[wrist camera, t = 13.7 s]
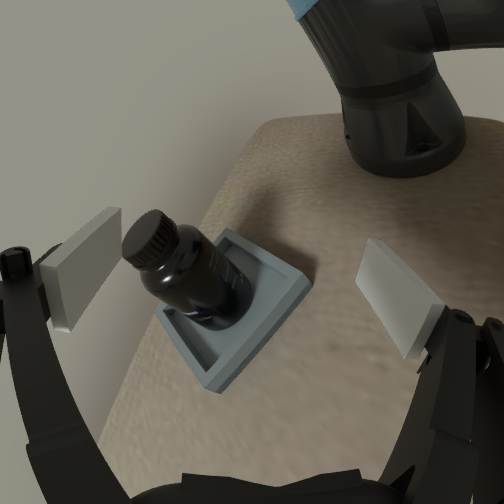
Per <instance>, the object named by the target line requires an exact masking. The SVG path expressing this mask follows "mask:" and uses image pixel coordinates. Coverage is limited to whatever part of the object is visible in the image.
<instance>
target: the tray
mask: <svg viewBox="0 0 504 504" xmlns="http://www.w3.org/2000/svg"><path fill="white" fill-rule="evenodd" d="M213 244H214V245H215V246H216V247H217V248H218V249H219V250H220V251H221V252H222V253H223V254H224V255H225V256H226V257H227V258H228V259H229V260H230V261H231V262H232V263H234V264H235V265H236V266H237V267H238V268H239V269H240V270H241V271H242V272H243V273H244V274H245V275H246V276H247V278H248V279H249V281H250V283H251V287H252V298H251V302H250V305H249V308H248V310H247V311H246V313H245V315H244V316H243V317H242V318H241V319H240V320H239V321H238V322H237V323H236V324H235V325H233V326H232V327H230V328H228V329H225V330H221V331H210V330H207V329H205V328H203V327H202V326H200V325H198V324H197V323H195V322H194V321H192V320H190V319H189V318H187V317H186V316H184V315H183V314H181V313H180V312H178V311H177V310H175V309H173V308H172V307H170V306H169V305H167V304H166V303H164V302H163V303H162V304H161V305H160V306H159V307H158V309H157V310H156V311H155V312H154V313H155V314H156V316H157V318H158V319H159V321H160V322H161V324H162V326H163V327H164V329H165V330H166V332H167V334H168V335H169V337H170V338H171V340H172V342H173V343H174V345H175V346H176V348H177V349H178V351H179V352H180V354H181V355H182V357H183V358H184V360H185V361H186V363H187V364H188V366H189V367H190V369H191V370H192V372H193V373H194V374H195V376H196V377H197V379H198V380H199V382H200V383H201V384H202V386H203V387H204V388H205V389H208V390H211V391H213V392H216V393H219V394H221V393H222V392H223V391H224V390H225V389H226V388H227V386H228V385H229V384H230V383H231V382H232V381H233V380H234V379H235V378H236V377H237V375H238V374H239V373H240V372H241V371H242V370H243V369H244V368H245V367H246V365H247V364H248V363H249V362H250V361H251V360H252V359H253V358H254V356H255V355H256V354H257V353H258V352H259V351H260V349H261V348H262V347H263V346H264V345H265V344H266V343H267V341H268V340H269V339H270V338H271V337H272V336H273V334H274V333H275V332H276V331H277V330H278V328H279V327H280V326H281V325H282V324H283V322H284V321H285V320H286V319H287V318H288V316H289V315H290V314H291V313H292V312H293V310H294V309H295V308H296V307H297V305H298V304H299V303H300V302H301V300H302V299H303V298H304V297H305V296H306V294H307V293H308V292H309V290H310V289H311V288H312V287H313V284H312V283H311V282H310V281H309V279H308V278H307V277H306V276H305V274H304V273H303V272H301V271H299V270H298V269H296V268H294V267H293V266H291V265H289V264H288V263H286V262H284V261H282V260H281V259H279V258H277V257H276V256H274V255H272V254H271V253H269V252H267V251H266V250H264V249H262V248H260V247H259V246H257V245H255V244H254V243H252V242H250V241H249V240H247V239H245V238H243V237H242V236H240V235H238V234H237V233H235V232H233V231H232V230H230V229H228V228H225V230H224V231H223V232H222V233H221V234H220V235H219V237H218V238H217V239H216V240H215V241H214V242H213Z"/></svg>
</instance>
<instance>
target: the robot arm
mask: <svg viewBox="0 0 504 504" xmlns="http://www.w3.org/2000/svg"><path fill="white" fill-rule="evenodd" d="M286 1H287V2H288V4H289V6H290V7H291V9H292V11H293V12H294V14H295V20H296V21H298V22H299V23H300V25H301V26H302V28H303V29H304V31H305V33H306V34H307V36H308V38H309V39H310V41H311V42H312V44H313V46H314V48H315V49H316V51H317V53H318V54H319V56H320V58H321V60H322V61H323V63H324V65H325V67H326V69H327V71H328V73H329V74H330V76H331V78H332V80H333V81H334V84H335V86H336V88H337V90H338V92H339V94H340V97H341V104H342V113H343V121H344V126H345V128H344V134H345V140H346V143H347V146H348V148H349V150H350V152H351V155H352V157H353V159H354V160H355V161H356V163H357V164H358V165H360V166H361V167H362V168H364V169H365V170H367V171H369V172H371V173H374V174H377V175H381V176H387V177H413V176H419V175H424V174H427V173H430V172H433V171H436V170H438V169H440V168H442V167H444V166H446V165H447V164H449V163H450V162H451V161H453V160H454V159H455V158H456V157H457V156H458V155H459V153H460V152H461V151H462V149H463V147H464V144H465V141H466V131H465V125H464V119H463V115H462V112H461V110H460V109H459V107H458V105H457V103H456V101H455V99H454V97H453V96H452V94H451V92H450V90H449V89H448V87H447V85H446V84H445V82H444V80H443V79H442V77H441V76H440V74H439V72H438V69H437V65H436V62H435V59H434V55H433V52H439V51H450V50H461V49H477V48H504V0H286ZM121 258H122V238H121V208H115V207H107V208H106V209H105V210H103V211H102V212H101V213H99V214H98V215H97V216H96V217H94V218H93V219H92V220H91V221H89V222H88V223H87V224H86V225H84V226H83V227H82V228H81V229H80V230H78V231H77V232H76V233H75V234H73V235H72V236H71V237H70V238H69V239H67V240H66V241H65V242H64V243H60V244H58V245H56V246H54V247H52V248H51V249H50V250H48V251H47V252H46V254H44V255H43V256H42V257H41V258H39V259H38V260H37V261H36V262H35V263H34V264H33V265H32V261H31V255H30V250H29V249H28V248H26V247H20V246H19V247H12V248H9V249H7V250H5V251H3V252H1V253H0V272H1V276H2V281H0V361H1V355H2V349H3V343H4V338H5V334H6V339H7V347H8V353H9V360H10V366H11V371H12V377H13V381H14V386H15V390H16V395H17V399H18V403H19V407H20V411H21V415H22V418H23V422H24V425H25V429H26V431H27V435H28V438H29V444H27V445H26V451H27V454H28V458H29V461H30V463H31V466H32V469H33V471H34V474H35V476H36V479H37V481H38V484H39V486H40V488H41V491H42V493H43V495H44V497H45V500H46V502H47V504H470V502H471V498H472V494H473V504H504V324H503V323H502V322H501V321H500V320H498V319H495V318H491V317H488V318H486V320H485V322H484V324H483V326H478V325H475V322H474V320H473V318H472V317H471V316H470V315H468V314H467V313H466V312H464V311H461V310H458V309H452V310H450V309H449V308H448V306H447V305H446V304H445V303H444V302H443V301H442V300H441V299H440V298H439V297H438V296H437V295H436V294H435V293H434V292H433V290H432V289H431V288H430V287H429V286H428V285H427V284H426V283H425V282H424V281H423V280H422V279H421V278H420V277H419V276H418V275H417V274H416V273H415V272H414V271H413V270H412V269H411V268H410V267H409V266H408V265H407V264H406V263H405V262H404V261H403V260H402V259H401V258H400V257H399V256H397V255H396V254H395V253H394V252H393V251H392V250H391V249H390V248H389V247H388V246H387V245H386V244H385V243H384V242H383V241H382V240H380V239H376V238H369V237H368V241H367V244H366V248H365V251H364V255H363V258H362V261H361V264H360V268H359V271H358V274H357V277H356V280H355V282H356V284H357V285H358V287H359V288H360V290H361V291H362V293H363V294H364V296H365V297H366V299H367V300H368V302H369V303H370V305H371V306H372V308H373V310H374V311H375V313H376V314H377V316H378V317H379V319H380V320H381V322H382V324H383V325H384V327H385V328H386V330H387V332H388V333H389V335H390V336H391V338H392V340H393V341H394V343H395V345H396V346H397V348H398V350H399V351H400V353H401V355H402V356H403V358H404V360H405V359H418V358H419V356H420V354H421V352H422V351H423V349H424V347H425V348H426V350H427V351H428V354H427V356H426V358H425V360H424V361H423V363H422V365H421V366H420V368H419V370H418V371H417V373H418V374H419V373H420V371H421V373H420V377H419V380H418V384H417V387H416V390H415V393H414V396H413V399H412V402H411V405H410V408H409V411H408V414H407V416H406V419H405V422H404V424H403V427H402V430H401V432H400V435H399V437H398V440H397V442H396V444H395V447H394V449H393V451H392V454H391V456H390V458H389V460H388V463H387V465H386V467H385V469H384V471H383V473H382V475H381V477H380V479H379V480H378V482H377V481H373V480H367V479H362V477H361V474H360V470H359V469H354V470H348V471H341V472H334V473H326V474H319V475H316V476H314V477H311V478H307V479H304V480H301V481H298V482H295V483H291V484H288V485H284V486H280V487H273V486H267V485H262V484H257V483H253V482H248V481H244V480H239V479H235V478H231V477H223V476H208V475H197V474H187V473H182V482H181V483H174V484H168V485H163V486H159V487H156V488H152V489H150V490H147V491H145V492H142V493H140V494H139V495H137V496H135V497H133V498H132V499H130V498H129V496H128V495H127V494H126V492H125V491H124V489H123V488H122V486H121V485H120V483H119V482H118V480H117V478H116V477H115V475H114V474H113V472H112V471H111V469H110V467H109V466H108V464H107V462H106V461H105V459H104V457H103V455H102V454H101V452H100V450H99V448H98V447H97V445H96V443H95V441H94V439H93V437H92V435H91V434H90V432H89V430H88V428H87V426H86V424H85V422H84V420H83V418H82V416H81V414H80V412H79V410H78V408H77V405H76V403H75V401H74V398H73V396H72V394H71V392H70V389H69V387H68V384H67V382H66V379H65V377H64V374H63V372H62V369H61V366H60V364H59V361H58V358H57V355H56V352H55V350H54V347H53V344H52V340H51V338H50V334H49V331H48V328H47V324H46V322H47V321H48V319H49V318H50V317H51V321H52V324H53V327H54V329H55V330H59V331H63V332H68V333H70V332H71V331H72V329H73V328H74V326H75V324H76V323H77V321H78V320H79V318H80V317H81V315H82V314H83V312H84V311H85V309H86V308H87V306H88V305H89V303H90V302H91V300H92V299H93V297H94V296H95V294H96V293H97V291H98V290H99V288H100V287H101V285H102V284H103V283H104V281H105V280H106V278H107V277H108V276H109V274H110V273H111V271H112V270H113V269H114V267H115V266H116V265H117V263H118V262H119V260H120V259H121ZM489 362H490V363H489ZM488 364H489V366H488ZM487 366H488V367H487ZM486 367H487V369H486ZM470 440H471V442H470Z"/></svg>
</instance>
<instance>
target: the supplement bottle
mask: <svg viewBox="0 0 504 504" xmlns="http://www.w3.org/2000/svg"><path fill="white" fill-rule="evenodd" d="M122 257H123V258H124V259H125V260H126V261H128V262H129V263H130V264H132V266H133V267H134V268H136V269H137V270H139V271H140V277H141V281H142V283H143V285H144V287H145V288H146V289H147V290H148V291H149V292H150V293H151V294H153V295H154V296H156V297H157V298H158V299H160V300H161V301H163V302H164V303H166V304H167V305H169V306H170V307H172V308H173V309H175V310H177V311H178V312H180V313H181V314H183V315H184V316H186V317H187V318H189V319H190V320H192V321H194V322H195V323H197V324H198V325H200V326H202V327H203V328H205V329H207V330H210V331H221V330H225V329H228V328H230V327H232V326H233V325H235V324H236V323H237V322H238V321H239V320H240V319H241V318H242V317H243V316H244V315H245V313H246V311H247V310H248V308H249V305H250V302H251V298H252V287H251V283H250V281H249V279H248V278H247V276H246V275H245V274H244V273H243V272H242V271H241V270H240V269H239V268H238V267H237V266H236V265H235V264H234V263H232V262H231V261H230V260H229V259H228V258H227V257H226V256H225V255H224V254H223V253H222V252H221V251H220V250H219V249H218V248H217V247H216V246H215V245H214V244H213V243H212V242H211V241H210V240H209V239H208V238H207V237H206V236H205V235H204V234H202V233H201V232H200V231H199V230H198V229H197V228H195V227H193V226H190V225H185V224H182V225H176V224H175V222H174V221H173V220H171V219H170V218H168V217H167V216H166V215H165V214H164V213H163V212H162V211H160V210H156V209H154V210H151V211H148V212H147V213H145V214H144V215H143V216H141V217H140V218H139V219H138V220H137V221H136V222H135V223H134V224H133V225H132V227H131V228H130V229H129V231H128V232H127V234H126V236H125V238H124V240H123V243H122Z"/></svg>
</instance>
